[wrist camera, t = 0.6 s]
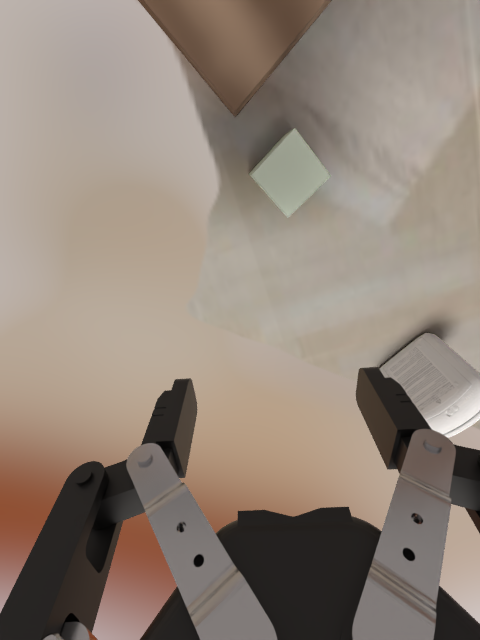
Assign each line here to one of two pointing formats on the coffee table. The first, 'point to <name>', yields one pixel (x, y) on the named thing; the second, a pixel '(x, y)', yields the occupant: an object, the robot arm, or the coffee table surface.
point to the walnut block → (235, 39)
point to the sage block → (290, 173)
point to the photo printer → (437, 383)
